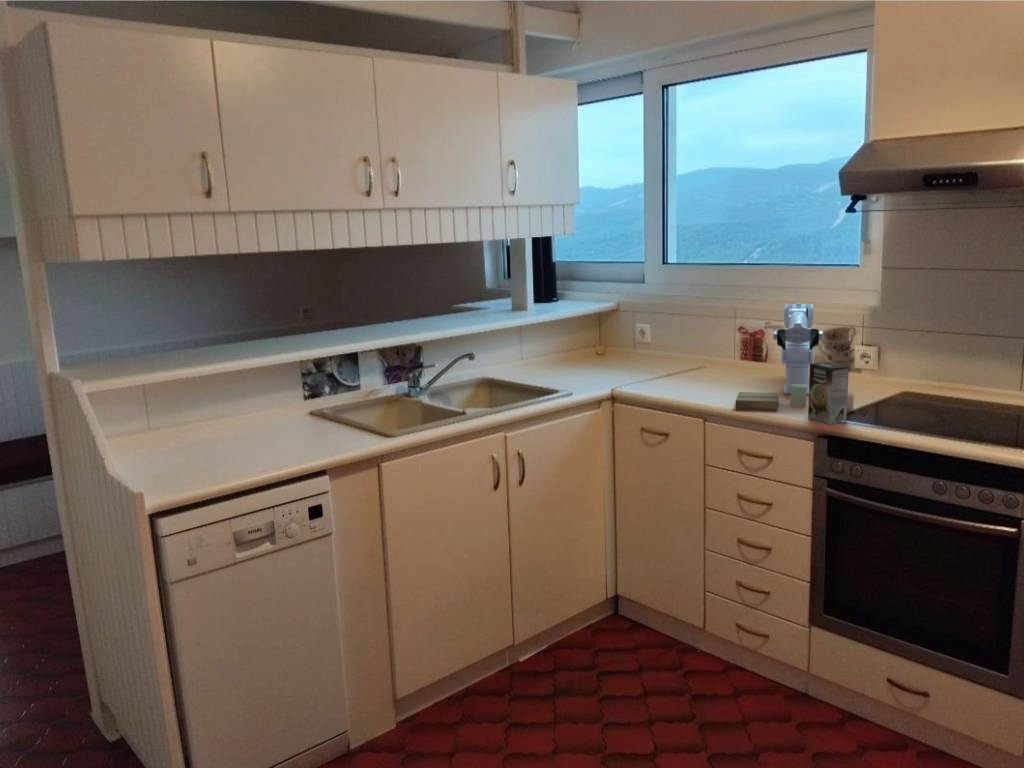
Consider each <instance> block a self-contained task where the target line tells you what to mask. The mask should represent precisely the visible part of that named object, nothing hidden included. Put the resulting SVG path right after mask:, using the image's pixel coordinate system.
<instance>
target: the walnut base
mask: <svg viewBox="0 0 1024 768" xmlns="http://www.w3.org/2000/svg"><path fill="white" fill-rule="evenodd" d="M779 396H780V394H779V393H778V392H776V393H775V392H773V393H772V392H749V391H748V392H745V391H742V392H741V391H739V392H738V393H737V396H736V398H735V411H750V410H761V411H760V412H776V411H777V412H778V406H779Z"/></svg>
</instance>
